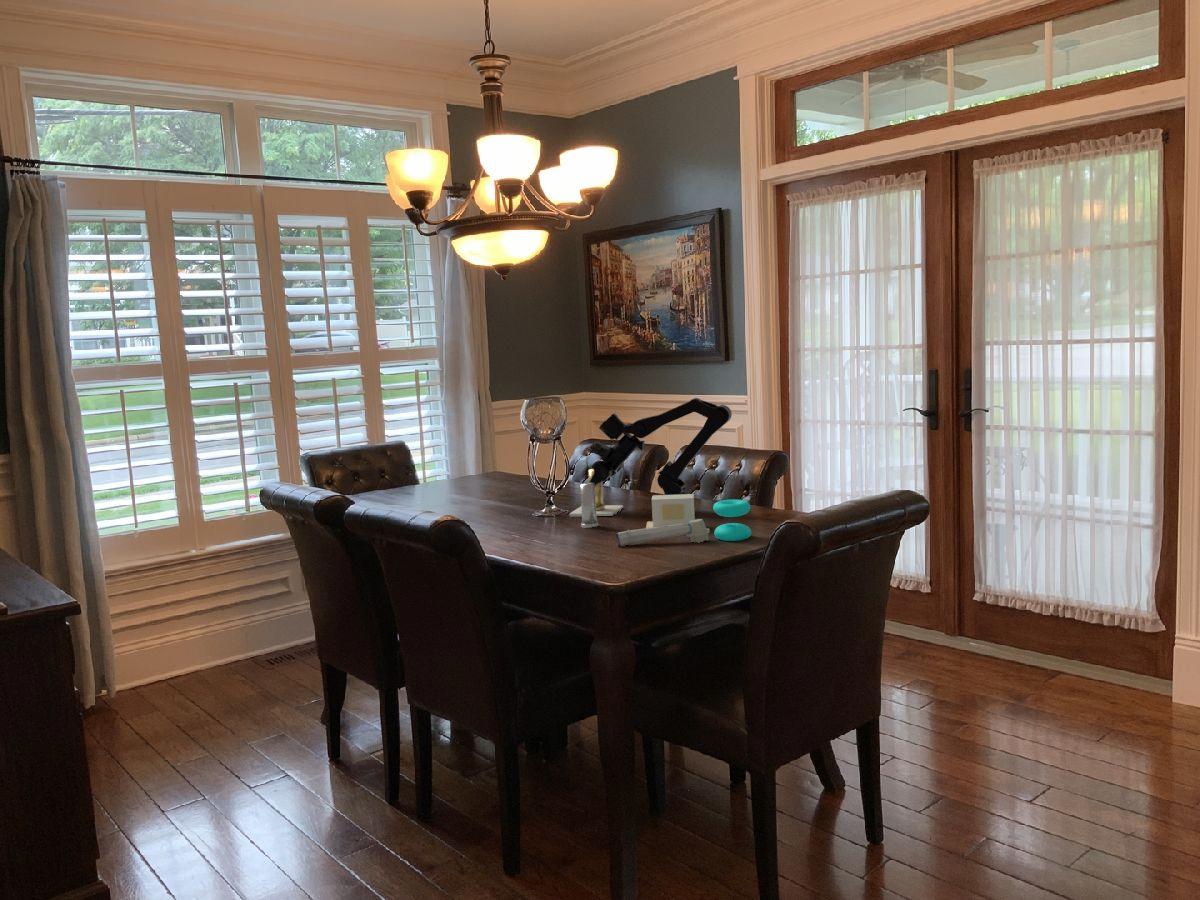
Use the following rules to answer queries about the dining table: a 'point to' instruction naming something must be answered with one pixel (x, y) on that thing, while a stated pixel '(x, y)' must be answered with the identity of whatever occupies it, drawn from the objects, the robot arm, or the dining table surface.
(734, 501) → the donuts
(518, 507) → the dining table surface
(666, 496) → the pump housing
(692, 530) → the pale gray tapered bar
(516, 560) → the dining table surface
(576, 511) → the plate
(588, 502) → the cylinder
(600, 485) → the cylinder
